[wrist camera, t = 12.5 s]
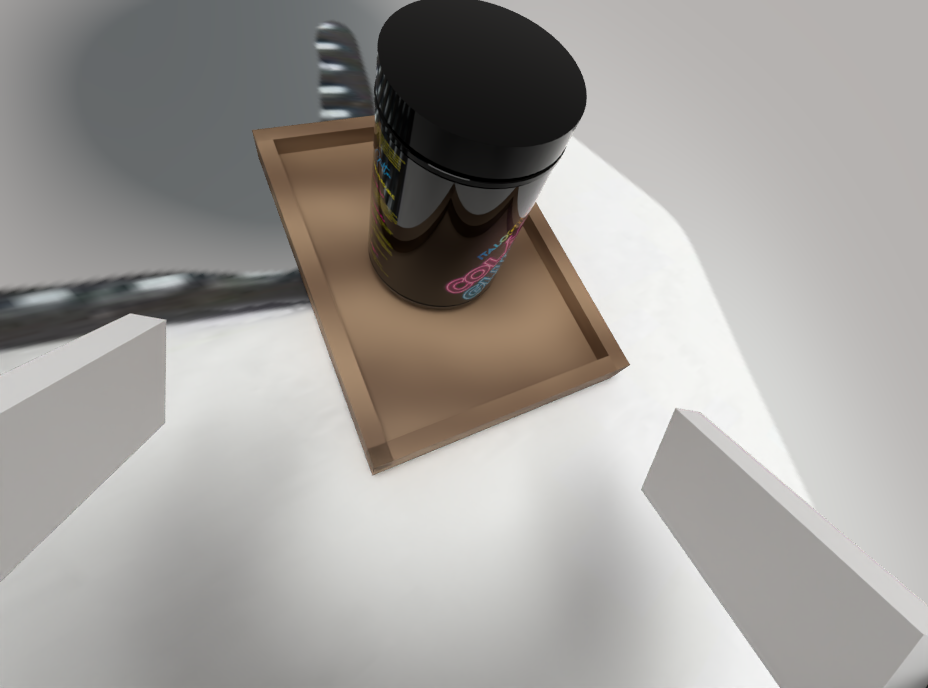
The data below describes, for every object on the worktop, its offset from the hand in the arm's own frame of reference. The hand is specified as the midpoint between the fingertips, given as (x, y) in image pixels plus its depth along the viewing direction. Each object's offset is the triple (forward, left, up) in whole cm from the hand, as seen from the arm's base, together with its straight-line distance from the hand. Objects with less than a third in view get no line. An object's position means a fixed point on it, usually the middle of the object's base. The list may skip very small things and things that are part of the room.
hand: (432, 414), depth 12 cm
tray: (-9, +5, -9) cm, 14 cm away
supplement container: (-9, +5, -8) cm, 13 cm away
